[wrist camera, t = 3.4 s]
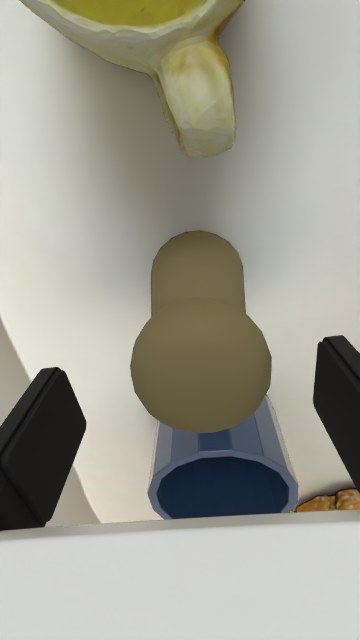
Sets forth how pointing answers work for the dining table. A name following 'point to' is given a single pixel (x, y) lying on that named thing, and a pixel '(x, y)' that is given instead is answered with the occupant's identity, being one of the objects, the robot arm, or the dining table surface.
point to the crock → (223, 470)
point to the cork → (199, 339)
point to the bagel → (333, 502)
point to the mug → (162, 57)
